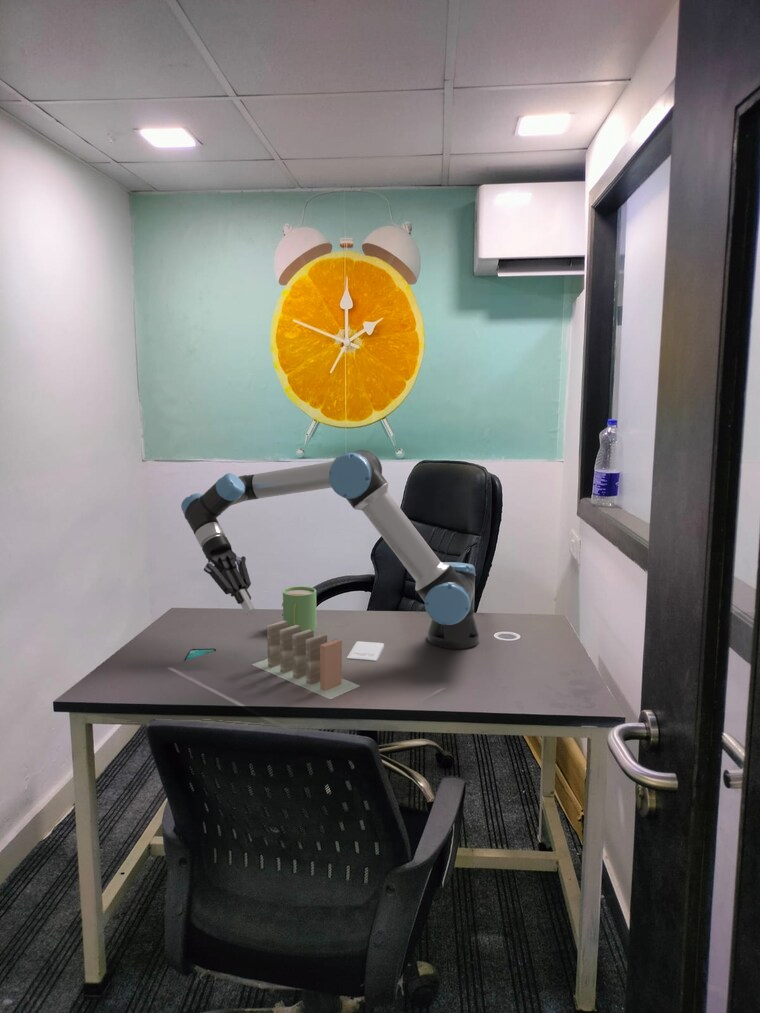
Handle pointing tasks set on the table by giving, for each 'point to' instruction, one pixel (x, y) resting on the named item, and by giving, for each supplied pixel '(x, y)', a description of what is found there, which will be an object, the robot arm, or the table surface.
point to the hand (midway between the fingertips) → (250, 611)
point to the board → (301, 682)
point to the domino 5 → (330, 664)
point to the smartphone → (198, 652)
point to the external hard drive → (366, 651)
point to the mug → (300, 607)
